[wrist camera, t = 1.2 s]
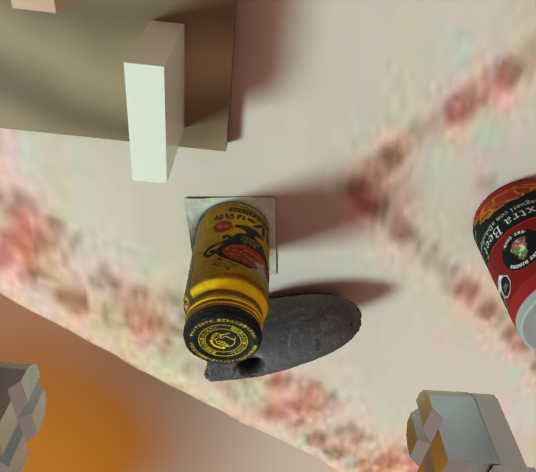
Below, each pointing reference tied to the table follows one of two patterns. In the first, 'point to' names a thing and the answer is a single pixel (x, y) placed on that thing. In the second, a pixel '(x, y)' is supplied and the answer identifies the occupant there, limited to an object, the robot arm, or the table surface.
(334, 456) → the table surface
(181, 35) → the cream tile
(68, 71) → the walnut board
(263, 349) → the perforated stone tool
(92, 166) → the table surface
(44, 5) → the terracotta tile
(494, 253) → the canned food
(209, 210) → the condiment
